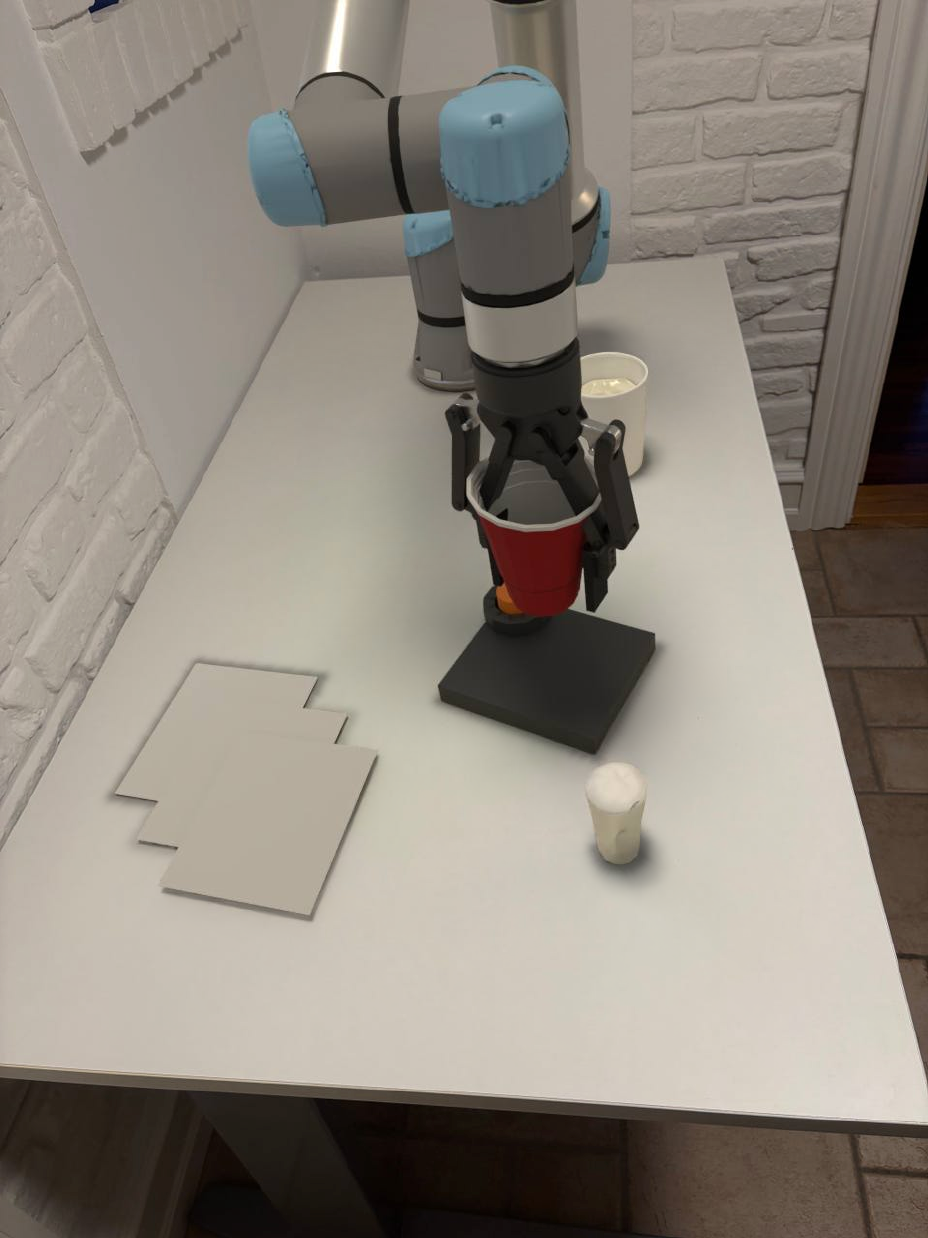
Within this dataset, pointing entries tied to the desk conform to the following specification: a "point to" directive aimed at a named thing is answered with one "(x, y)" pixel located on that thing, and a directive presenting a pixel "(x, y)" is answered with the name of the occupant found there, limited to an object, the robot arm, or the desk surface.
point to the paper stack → (248, 787)
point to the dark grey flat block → (549, 672)
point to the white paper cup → (616, 399)
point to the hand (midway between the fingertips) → (549, 588)
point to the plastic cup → (534, 536)
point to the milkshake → (617, 810)
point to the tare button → (506, 602)
